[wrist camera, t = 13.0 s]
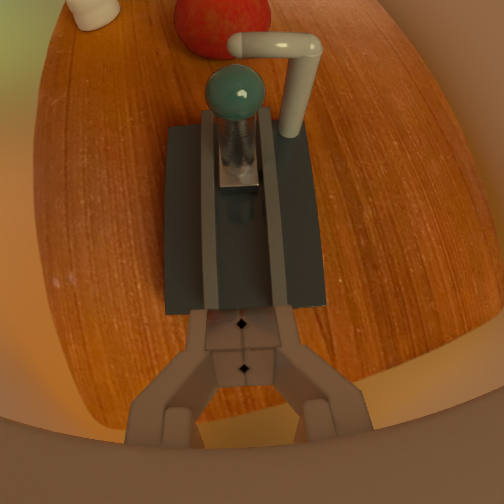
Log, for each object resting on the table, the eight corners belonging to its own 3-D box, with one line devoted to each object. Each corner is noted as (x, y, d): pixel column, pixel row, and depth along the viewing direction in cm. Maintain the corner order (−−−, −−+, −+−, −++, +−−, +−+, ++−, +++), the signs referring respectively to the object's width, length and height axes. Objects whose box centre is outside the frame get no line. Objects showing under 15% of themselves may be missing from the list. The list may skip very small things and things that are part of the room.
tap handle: (219, 195, 24) (200, 105, 13) (218, 150, 25) (202, 49, 14) (260, 193, 24) (271, 101, 13) (256, 148, 25) (263, 46, 14)
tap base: (174, 314, 26) (102, 313, 12) (174, 143, 29) (135, 37, 15) (317, 306, 26) (389, 297, 12) (299, 136, 29) (330, 28, 15)
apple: (175, 26, 32) (162, -36, 22) (256, 13, 33) (259, -50, 23) (185, 78, 30) (168, 4, 20) (280, 61, 31) (290, -11, 21)
